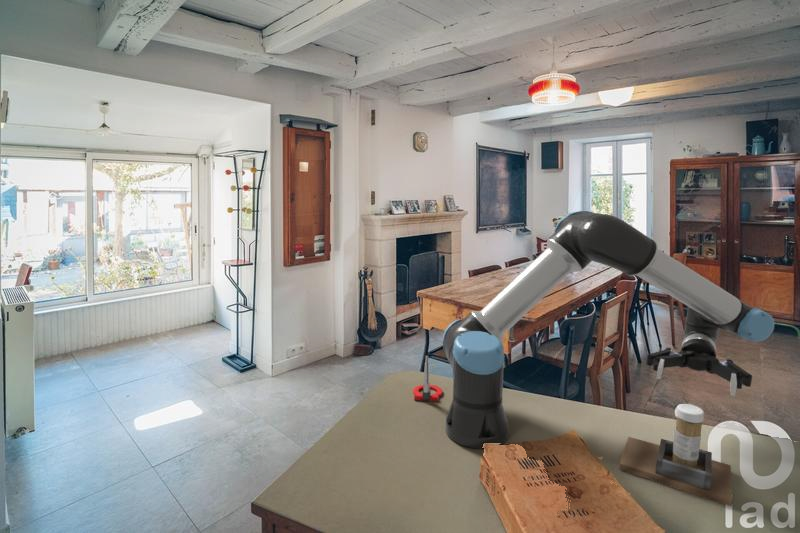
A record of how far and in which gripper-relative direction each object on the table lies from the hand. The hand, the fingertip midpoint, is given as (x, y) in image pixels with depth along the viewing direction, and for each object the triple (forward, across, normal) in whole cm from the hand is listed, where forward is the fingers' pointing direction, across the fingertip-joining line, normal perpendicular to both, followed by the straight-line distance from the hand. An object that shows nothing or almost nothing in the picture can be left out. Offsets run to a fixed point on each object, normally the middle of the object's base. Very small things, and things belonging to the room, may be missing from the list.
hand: (694, 381), depth 96 cm
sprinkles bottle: (+11, 0, -15) cm, 19 cm away
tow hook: (+9, +62, -18) cm, 65 cm away
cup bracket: (+10, +2, -17) cm, 19 cm away
